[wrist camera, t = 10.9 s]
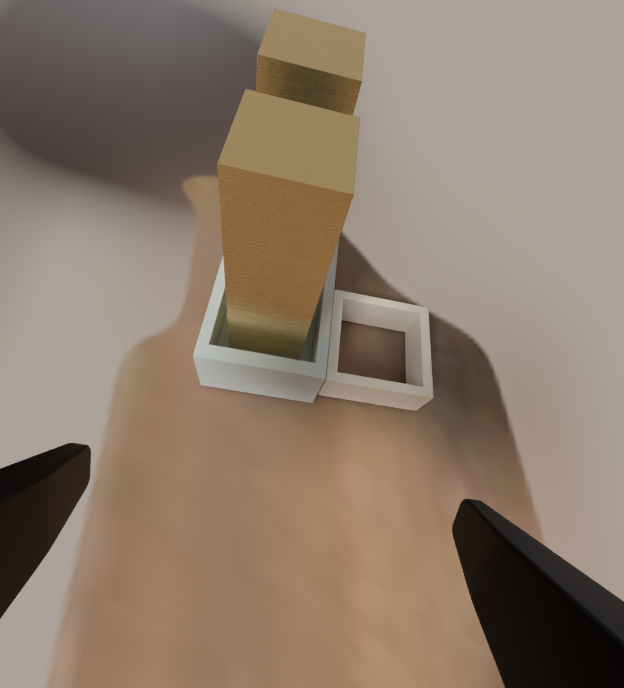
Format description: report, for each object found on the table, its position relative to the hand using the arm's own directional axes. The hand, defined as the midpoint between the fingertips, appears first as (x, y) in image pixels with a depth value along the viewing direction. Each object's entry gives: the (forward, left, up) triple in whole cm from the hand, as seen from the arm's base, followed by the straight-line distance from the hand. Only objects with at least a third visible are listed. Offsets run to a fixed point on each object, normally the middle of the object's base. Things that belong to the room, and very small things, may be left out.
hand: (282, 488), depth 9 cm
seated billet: (+16, +1, -10) cm, 19 cm away
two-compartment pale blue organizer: (+13, +1, -12) cm, 18 cm away
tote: (+10, -6, -12) cm, 17 cm away
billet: (+10, +1, -10) cm, 14 cm away
